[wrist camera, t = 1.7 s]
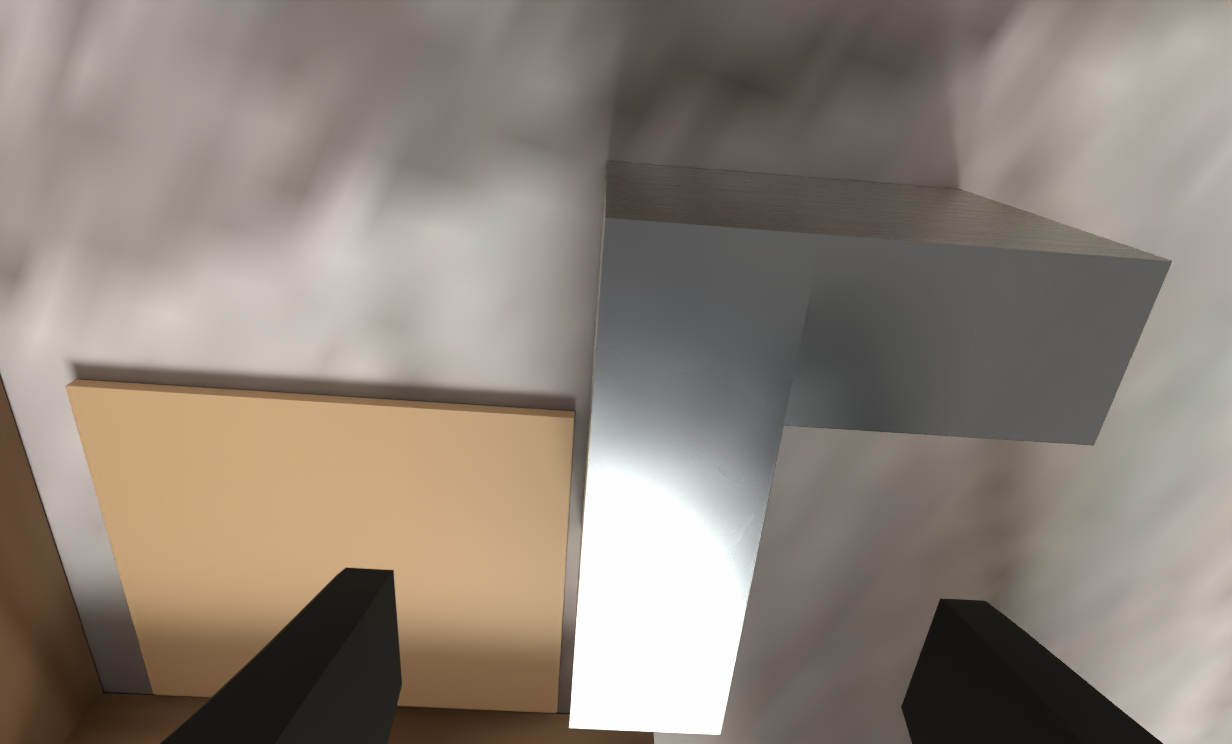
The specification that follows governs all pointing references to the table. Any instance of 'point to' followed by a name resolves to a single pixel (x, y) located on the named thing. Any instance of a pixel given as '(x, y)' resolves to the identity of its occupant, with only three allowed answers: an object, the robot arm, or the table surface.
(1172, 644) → the table surface
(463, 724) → the walls
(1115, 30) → the table surface
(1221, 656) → the table surface
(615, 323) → the bracket
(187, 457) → the pad
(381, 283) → the table surface
